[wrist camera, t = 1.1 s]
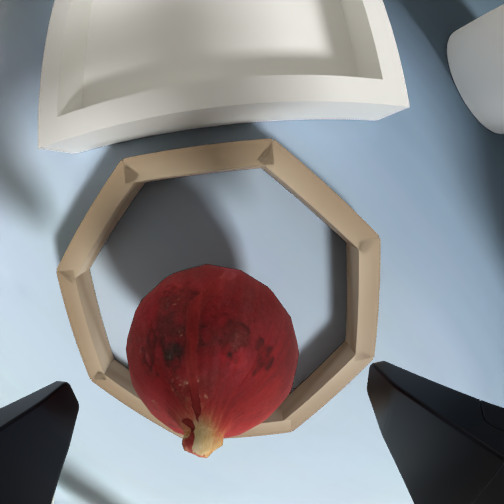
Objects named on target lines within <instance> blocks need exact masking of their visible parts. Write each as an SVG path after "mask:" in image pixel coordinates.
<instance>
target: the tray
mask: <svg viewBox="0 0 504 504" xmlns="http://www.w3.org/2000/svg"><path fill="white" fill-rule="evenodd" d="M409 107H410V106H409V100H408V94H407V89H406V84H405V79H404V75H403V70H402V66H401V61H400V57H399V53H398V49H397V46H396V42H395V38H394V35H393V31H392V28H391V25H390V21H389V18H388V15H387V12H386V9H385V6H384V3H383V0H55V1H54V5H53V9H52V13H51V17H50V22H49V27H48V32H47V37H46V43H45V49H44V55H43V63H42V71H41V80H40V92H39V110H38V149H44V150H51V151H59V152H65V153H72V154H76V153H80V152H83V151H87V150H91V149H95V148H98V147H103V146H107V145H111V144H115V143H119V142H124V141H129V140H133V139H138V138H143V137H148V136H153V135H159V134H165V133H170V132H177V131H183V130H190V129H197V128H204V127H212V126H221V125H230V124H240V123H252V122H265V121H283V120H317V119H338V120H371V121H377V120H380V119H382V118H384V117H387V116H389V115H391V114H394V113H396V112H399V111H401V110H404V109H406V108H409Z"/></svg>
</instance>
